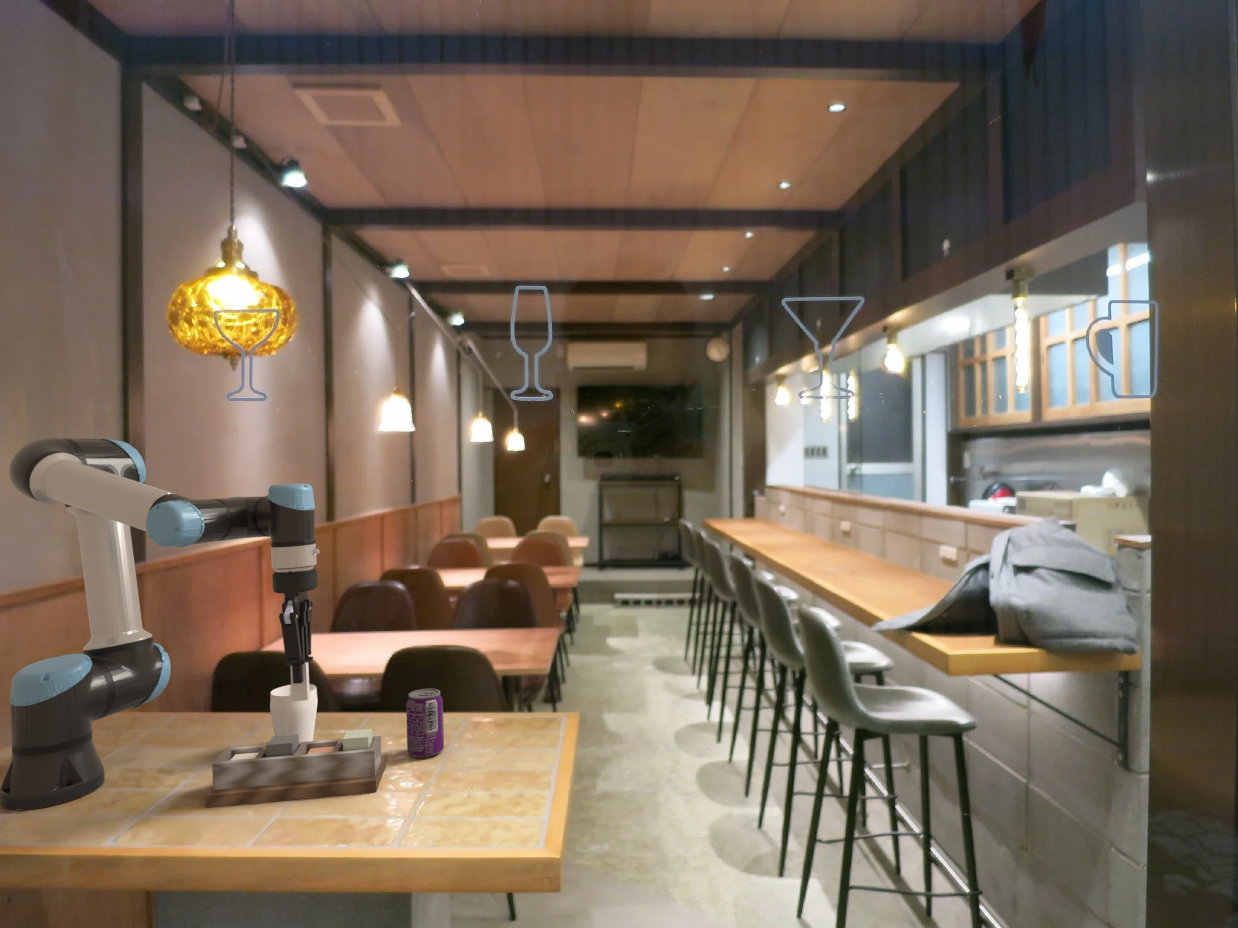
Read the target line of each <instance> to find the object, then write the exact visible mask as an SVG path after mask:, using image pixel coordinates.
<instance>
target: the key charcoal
mask: <svg viewBox="0 0 1238 928" xmlns="http://www.w3.org/2000/svg"><path fill="white" fill-rule="evenodd" d="M265 745H266V757H277V756H290V755H294V754H295V752H296V751H297V750H298V748H299V734H298V735H285V736H275V735H274V736H272V737H271V738H270V739H269V741H268V742H267V743H266V744H265Z"/></svg>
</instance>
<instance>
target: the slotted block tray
mask: <svg viewBox="0 0 1238 928" xmlns="http://www.w3.org/2000/svg"><path fill="white" fill-rule="evenodd" d="M334 746H335V748H334V749H333V751H332V752H327V753H314V754H308V752H309V751H310V749H311V748H321V747H334ZM247 753H259V754H258V755H257V756H256V757H255V758H253V759H240V760H231V759H232V758H233V757H234V756H235V754H247ZM211 765H212V767H211V768H212V769H211V770H212V788H211V789H210V790H209V791H208V792H207V793H206V794H205V796H204V797H205V799H204V802H205V804H204V805H205V807H204V808H213V807H215V808H217V807H224V806H237V805H246V804H248V805H249V804H258V803H259V804H261V803H270V802H279V801H281V802H283V801H292V800H293V801H294V800H302V799H303V800H304V799H305V800H306V799H315V798H325V797H326V798H327V797H335V796H344V795H345V796H348V795H361V794H368V793H377V791H378V789H379V786H380V783H381V780H382V777H383V775H384V772H385V769H386V767H387V756H386V755H382V736H381V735H376V736H375V735H374V736H373V735H372V745H371V747H370V749H364V750H351V751H343V738H337V739H336V738H335V739H323V740H321V739H320V740H313V741H308V742H299V748H298V750H297V751H296V752H295V754H294V755H290V756H277V757H266V744H261V745H258V744H257V745H248V746H247V745H246V746H233V747H227V748H226V749H225V750H224V751H223V752H222V754H221V755H219V756H218V758H216V760H214V762H212V764H211Z"/></svg>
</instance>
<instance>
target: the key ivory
mask: <svg viewBox="0 0 1238 928" xmlns="http://www.w3.org/2000/svg"><path fill="white" fill-rule="evenodd" d="M258 754H259V753H247V754H235V756H234V757H233V758H232V759H231V760H240V759H253V758H255V757H256V756H257V755H258Z"/></svg>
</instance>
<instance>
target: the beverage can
mask: <svg viewBox="0 0 1238 928" xmlns="http://www.w3.org/2000/svg"><path fill="white" fill-rule="evenodd" d="M405 709H406V746H407V748H406V749H407V750H406V752H407V753H408V754H409V755H410V756H413V757H415V758H420V759H422V758H430V757H433V756H436V755H438V754H439V753H440V752H442V751H443V750H444V747H445V738H444V737H445V736H444V700H443V697H442V695H441V690H439V689H437V688H421V689H416V690H413V691H411V692H409V693H408V699H407V701H406V708H405Z"/></svg>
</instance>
